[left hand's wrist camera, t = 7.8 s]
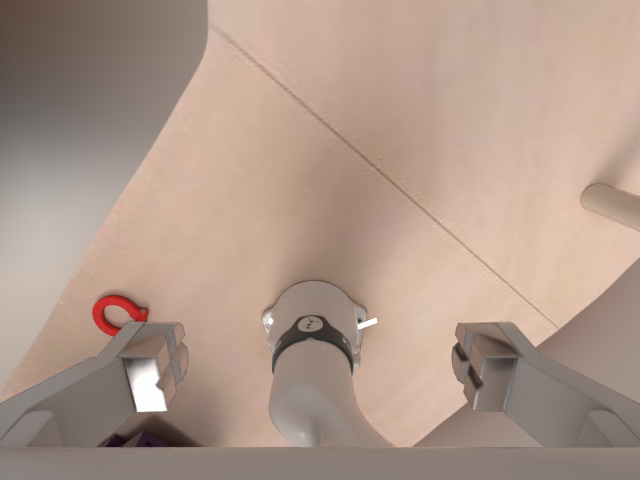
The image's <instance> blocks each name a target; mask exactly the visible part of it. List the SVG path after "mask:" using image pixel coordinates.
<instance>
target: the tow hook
mask: <svg viewBox="0 0 640 480" xmlns="http://www.w3.org/2000/svg"><path fill="white" fill-rule="evenodd" d="M108 305H117V306H120V307H122V308H124V309H125V310H126V311H127V312H128V313H129V315H130V317H131V318H133V319H136V321H135V322H146V317H147V313H148V310H147V309H144V308H142V309H138V308H136V307H135V305H134V304H132V303H131V302H130V301H129V300H127V299H125V298H122V297H119V296H106V297H104V298H102V299H100V300H99V301H98V302H97V303H96V304H95V306H94V308H93V313H92V314H93V319H94V321H95V323H96V325H97V326H98V327H99V328H100V329H101V330H102V331H103V332H104V333H106V334H108V335H110V336H113V337H115V335H116V334H117V333H118V332H119V331H120V330H121V329H117V328H114V327H112V326H110V325H109V324H108V323H107V322H106V321H105V319H104V317H103V310H104V308H105V307H106V306H108Z"/></svg>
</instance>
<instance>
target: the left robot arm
mask: <svg viewBox="0 0 640 480" xmlns="http://www.w3.org/2000/svg"><path fill="white" fill-rule="evenodd" d="M357 319H360V320H357ZM365 321H366V310H365V309H364V308H363V307H361V306H360V305H358V304H356V303H354V302H352V301H351V300H350V298H349V297H348V296H347V295H346V294H345V293H344V292H343V291H342V290H341V289H339V288H338V287H336V286H334V285H332V284H329V283H326V282H321V281H307V282H302V283H299V284H296V285H294V286H292V287H290V288H289V289H287V290H286V291H285V292H284V293H283V294H282V295H281V296H280V298H279V299H278V301H277V303H276V304H275V305H274V307H272V308H270V309H269V310H268V311H266V312H265V313H264V314H263V316H262V322H263V325H264V327H265V330H266V333H267V335H268V339H267V344H268V345H269V346H270V348H271V351H272V353H273V358H272V372H273V381H272V387H271V393H270V399H269V414H270V418H271V421H272V423H273V425H274V427H275V428H276V430H277V431H278V432H279V434H280V435H281V436H282V437H283V439H284V440H285V441H286V442H288V443H289V444H291V445H292V446H294V447H97V446H98V445H99V444H100V443H101V442H103V441H104V440H105V439H106V438H107V437H109V436H110V435H111V434H112V433H113V432H114V431H116V430H117V429H118V428H119V427H120V426H122V425H123V424H124V423H125V422H126V421H127V420H129V419H130V418H131V417H132V416H133V415H135V414H136V412H148V411H167V410H168V408H169V406H170V404H171V402H172V400H173V398H174V396H175V394H176V392H177V391H176V386H175V385H176V384H178V383H179V382H180V381H182V380H183V378H184V376H185V373H186V370H187V366H188V349H187V347H186V346H185V345H184V344H183V343H182V342H181V341H182V339H183V338H184V336H185V332H184V327H183V325H182V324H181V323H176V322H129V323H126V324H125V325H124V326H123V327H122V329H121V330H120V331H119V332H118V333H117V334H116V335H115V337H114V338H113V339H112V340H111V341H110V342H109V344H108V345H107V346H106V347H105V348H104V349H103V350H102V352H101V353H100V354H99V355H98V356H97V357H93V358H89V359H87V360H85V361H83V362H81V363H79V364H77V365H75V366H73V367H71V368H69V369H67V370H65V371H63V372H61V373H59V374H57V375H55V376H53V377H51V378H49V379H47V380H45V381H43V382H41V383H39V384H37V385H35V386H34V387H32V388H30V389H28V390H26V391H24V392H22V393H20V394H18V395H16V396H14V397H12V398H10V399H8V400H6V401H4V402H2V403H0V480H640V403H638V402H636V401H634V400H632V399H630V398H628V397H626V396H624V395H622V394H620V393H618V392H616V391H614V390H612V389H610V388H608V387H606V386H604V385H602V384H600V383H598V382H596V381H595V380H593V379H591V378H589V377H587V376H585V375H583V374H581V373H579V372H577V371H575V370H573V369H571V368H569V367H567V366H565V365H563V364H561V363H559V362H557V361H555V360H553V359H551V358H547V357H546V358H545V357H543V356H542V355H541V354H540V353H539V352H538V350H537V349H536V348H535V347H534V346H533V345H532V344H531V342H530V341H529V340H528V339H527V338H526V337H525V336H524V334H523V333H522V332H521V331H520V330H519V329H518V327H517V326H516V325H515V324H514V323H512V322H493V323H458V325H457V327H456V332H455V336H456V338H457V339H458V341H459V342H458V343H457V344H456V345H455V346H454V347H453V350H452V367H453V370H454V374H455V376H456V378H457V380H458V381H460V382H461V383H462V384H464V385H465V386H464V391H463V392H464V394H465V396H466V398H467V400H468V402H469V404H470V406H471V408H472V410H473V411H492V412H504V413H505V414H506V415H507V416H508V417H509V418H510V419H512V420H513V421H514V422H515V423H516V424H517V425H519V426H520V427H521V428H522V429H523V430H524V431H526V432H527V433H528V434H529V435H530V436H532V437H533V438H534V439H535V440H536V441H538V442H539V443H540V444H541V445H542V446H543V447H396V446H394V445H393V444H392V443H390V442H389V441H388V440H386V439H385V438H384V437H383V436H382V435H380V434H379V433H378V432H377V431H376V430H375V429H374V428H373V427H372V425H371V424H370V423H369V422H368V421H367V419H366V418H365V417H364V415H363V414H362V412H361V411H360V409H359V407H358V404H357V401H356V396H355V392H354V387H353V382H352V375H353V374H354V371H355V368H358V367H360V355H359V354H358V353H359V352H360V344H361V339H362V335H363V330H364V327H366V326H368V325H371V324H374V323H376V322H377V321H376V318H375V319H372V320H370V321H367V322H365ZM269 323H270V324H269Z"/></svg>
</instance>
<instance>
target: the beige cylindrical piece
mask: <svg viewBox="0 0 640 480" xmlns="http://www.w3.org/2000/svg"><path fill="white" fill-rule="evenodd" d="M580 201H581V205H582V206H583V207H584V208H585V209H587V210H589V211H592V212H594V213H597V214H599V215H601V216H604V217H606V218H608V219H611V220H613V221H615V222H618V223H620V224H622V225H625V226H627V227H629V228H632V229H634V230H637V231H639V232H640V196H638V195H635V194H632V193H629V192H625V191H622V190H619V189H616V188H613V187H610V186H606V185H603V184H594V185H591V186H589V187H588V188H586V189H585V190H584V192H583V193H582V195H581V200H580Z"/></svg>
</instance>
